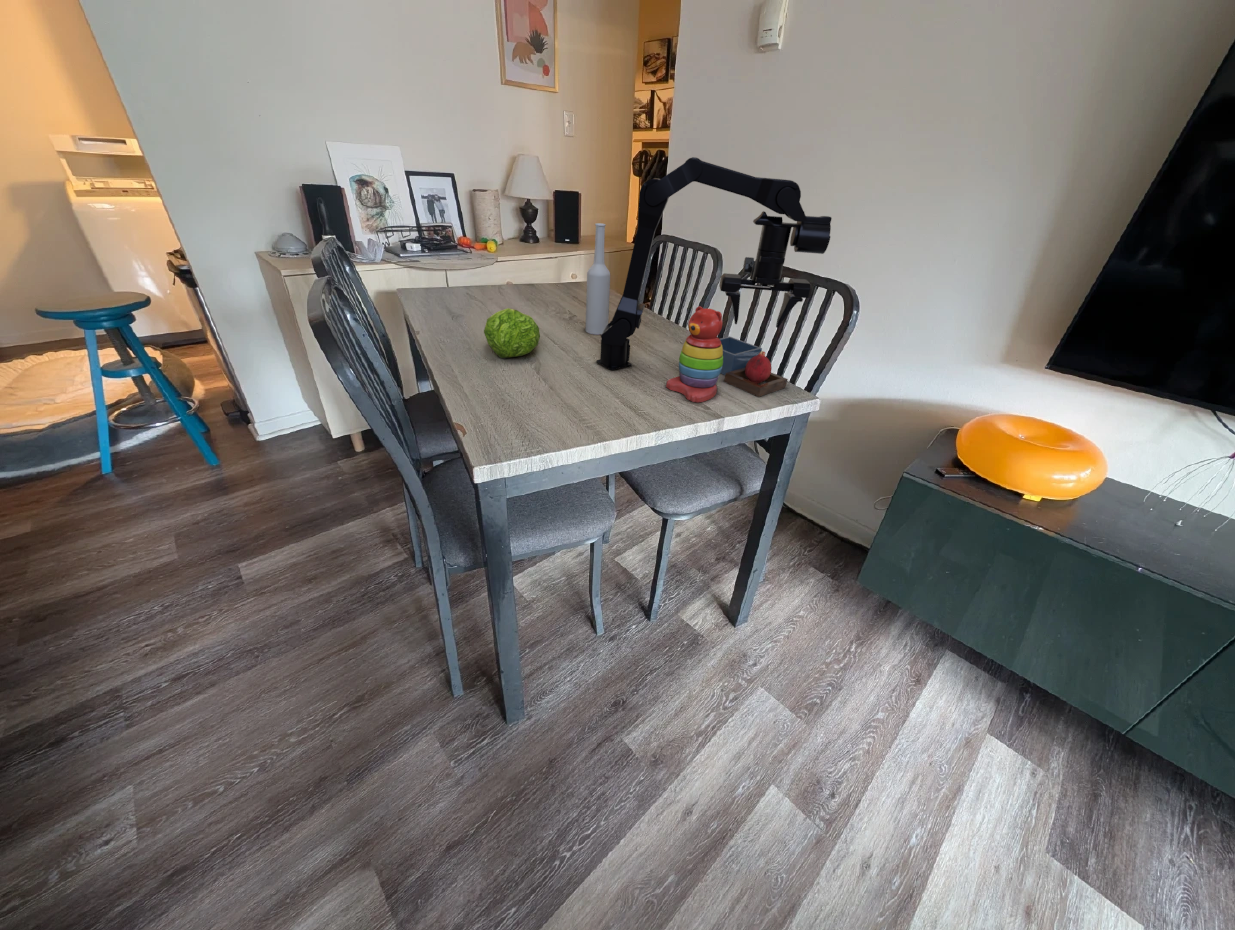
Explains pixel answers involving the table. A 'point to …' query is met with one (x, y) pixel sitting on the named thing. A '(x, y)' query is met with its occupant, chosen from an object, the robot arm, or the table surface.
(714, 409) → the table surface
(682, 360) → the stacking bear
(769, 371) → the red round fruit
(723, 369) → the blue open box
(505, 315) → the lettuce
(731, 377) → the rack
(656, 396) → the table surface
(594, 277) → the bottle
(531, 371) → the table surface
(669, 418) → the table surface
